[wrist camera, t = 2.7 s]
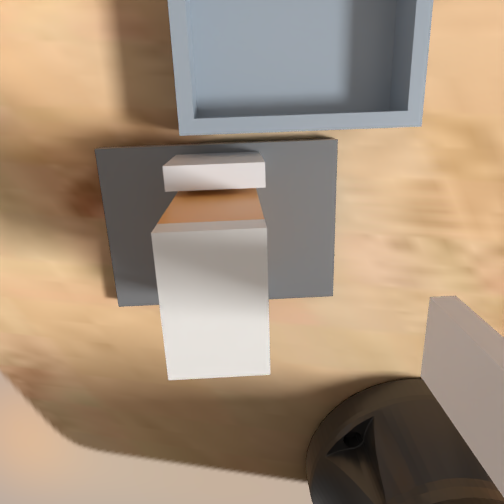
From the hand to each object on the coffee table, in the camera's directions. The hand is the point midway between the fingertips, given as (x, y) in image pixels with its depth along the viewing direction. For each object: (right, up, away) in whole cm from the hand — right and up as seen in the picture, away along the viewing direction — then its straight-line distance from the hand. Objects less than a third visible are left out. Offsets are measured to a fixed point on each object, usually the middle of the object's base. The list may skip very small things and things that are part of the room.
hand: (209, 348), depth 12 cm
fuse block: (-1, +5, +14) cm, 15 cm away
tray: (+3, +15, +11) cm, 19 cm away
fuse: (-1, +4, +13) cm, 14 cm away
